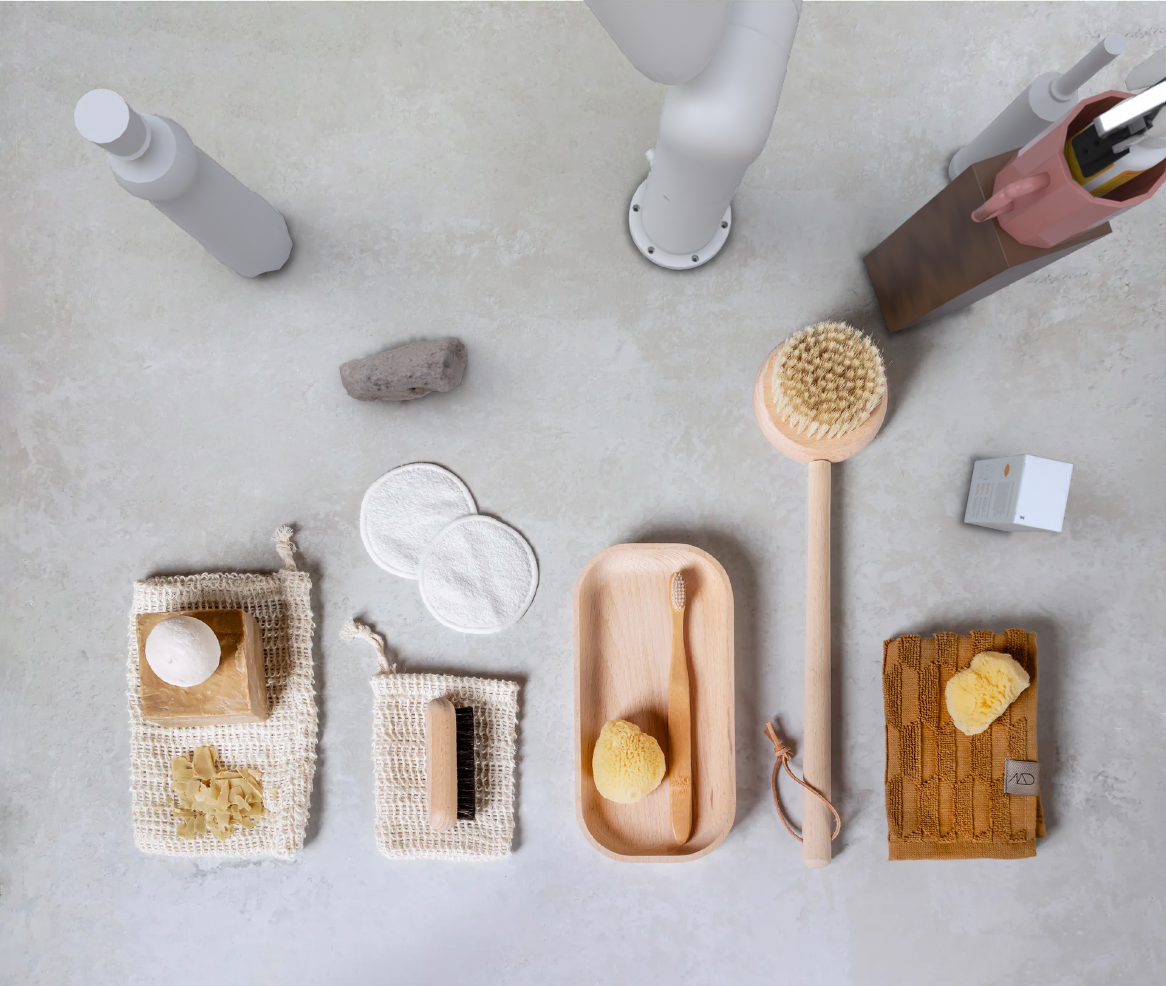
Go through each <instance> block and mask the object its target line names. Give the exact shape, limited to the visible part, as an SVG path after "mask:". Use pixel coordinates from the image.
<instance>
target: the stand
mask: <svg viewBox="0 0 1166 986" xmlns="http://www.w3.org/2000/svg"><path fill="white" fill-rule="evenodd" d="M1023 147H1024V146H1022V147H1019V148H1017V149H1014V150H1011V151H1008V152H1005V153H1002V154H999V155H996V156H993V157H991V158H988V159H985V160H982V161H979V162H976V163H973V164H971V165H970V166H969V167H968V168H967V169H965V170H964V171H963V172H962V173H961V174H960V175H959V176H957V177H956V178H955V179H954V180H953V181H952V182H951V181H950V183H948V184H947V185H946V186H945V187H943V188H942V189H941V190H940V191H939V192H937V194H935V195H934V196H933V197H932V198H930V199H929V200H928V202H926V203H925V204H924V205H922V206H921V207H920V208H919V209H918V210H916V212H915V213H914V214H912V215H911V216H910V217H909V218H908V219H906V220H905V221H904V222H903V223H902V224H901V225H900V226H898V227H897V228H896V229H895V230H894V231H893V232H892V233H890V234H889V235H888V236H887V237H886V238H884V239H883V241H881V242H880V243H879V244H877V245H876V246H875V247H874V248H873V249H872V250H871V251H870V252H868V254H866V255H865V256H864V257H863V258H862V261H863V263H864V265H865V268H866V272H867V274H868V277H869V279H870V283H871V285H872V287H873V290H874V295H875V296H876V299H877V302H878V305H879V307H880V310H881V314H882V316H883V318H884V320H885V324H886V327H887V330H888V333H889V334H894V333H896V332H899V331H903V330H905V329H908V328H911V327H914V326H916V325H919V324H922V323H925V322H928V321H930V320H934V319H937V318H939V317H942V316H945V315H948V314H950V313H953V312H957V311H959V310H963V309H965V308H967V307H969V306H971V305H973V304H975V303H977V302H979V301H981V300H983V299H985V298H987V297H988V296H990V295H992V294H995V293H997V292H998V291H1000V290H1002V289H1004V288H1006V287H1008V286H1010V285H1012V284H1014V283H1016V282H1018V281H1020V280H1022V279H1024V278H1025V277H1027V276H1030V275H1032V274H1034V273H1035V272H1037V271H1039V270H1042V269H1044V268H1046V267H1047V266H1050V265H1051V264H1053V263H1055V262H1057V261H1059V260H1062V259H1063V258H1065V257H1067V256H1069V255H1071V254H1073V253H1074V252H1077V251H1079V250H1081V249H1083V248H1085V247H1087V246H1088V245H1091V244H1093V243H1094V242H1096V241H1098V240H1100V239H1102V238H1104V237H1106V236H1109V235H1110V234H1112V233H1113V229H1112V225H1111V223H1110V220H1109V221H1107V222H1105V223H1103V224H1102V225H1100V226H1098V227H1096V228H1094V229H1092V230H1090V231H1088V232H1087V233H1085V234H1083V235H1081V236H1079V237H1077V238H1075V239H1074V240H1072V241H1069V242H1066V243H1063V244H1060V245H1057V246H1054V247H1052V248H1049V249H1044V248H1039V247H1034V246H1029V245H1023V244H1020V243H1019V242H1018V241H1017V240H1015V239H1014V238H1013V237H1012V236H1011V235H1010V234H1008V233H1007V232H1006V231H1005V230H1004V229H1003V228H1001V226H1000V224H999V222H998V219H997V216H996V217H993V218H990V219H987V220H985V221H982V222H974V221H973V220H972V218H971V215H972V212H973V211H974V210H975V209H976V208H978V207H979V206H980V205H982V204H983V203H984V202H986V201H987V200H988V199H990V198H991V197H992V195H993V189H994V184H995V178H996V175H997V173H998V172H999V171H1000V170H1001V169H1002V168H1003V166H1004V165H1005V164H1006V163H1007V162H1008V161H1009V159H1010V158H1011V157H1012V156H1013V155H1014V154H1015V153H1017V152H1018V151H1019V150H1020V149H1022V148H1023Z"/></svg>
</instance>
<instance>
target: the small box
mask: <svg viewBox="0 0 1166 986" xmlns="http://www.w3.org/2000/svg"><path fill="white" fill-rule="evenodd" d="M1074 466H1075V465H1074V463H1072V462H1067V461H1062V460H1057V459H1053V458H1047V457H1043V456H1037V455H1033V454H1028V453H1023V454H1015V455H1014V454H1013V455H1007V456H1006V455H1005V456H999V457H993V458H992V457H991V458H984V459H978V460H975V461H974V465H973V470H972V471H973V472H972V475H971V480H970V486H969V492H968V497H967V502H966V508H965V513H964V520H963V523H964V524H969V525H970V524H971V525H974V526H980V527H984V528H990V529H995V530H999V531H1003V532H1004V531H1005V532H1018V533H1019V532H1020V533H1021V532H1022V533H1023V532H1024V533H1052V534H1053V533H1054V534H1057V533H1058V534H1059V533H1062V532H1063V527H1064V521H1065V515H1066V509H1067V505H1068V504H1067V503H1068V498H1069V492H1070V487H1071V481H1072V476H1073V471H1074Z"/></svg>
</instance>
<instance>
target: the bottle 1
mask: <svg viewBox="0 0 1166 986" xmlns="http://www.w3.org/2000/svg"><path fill="white" fill-rule="evenodd" d="M73 119H74V125H75V127H76V129H77V131H78V133H79V134H80V135H81V136H83V137H84V138H85V139H86V140H88V142H90V143H92V144H94V145H96V146H97V147H100V148H101V149H103V151H104V152H105V153H106V159H107V163H108V165H109V169H110V172H111V174H112V175H113V177H114V179H115V180H116V182H117V184H118V186H119V187H120V188H122V189H123V190H125V191H126V192H127V193H128V194H130V196H133V197H135V198H138V199H141V200H144V201H148V202H149V204H150V205H151V206H152V207H154V208H155V209H156V210H157V211H159V212H160V213H161V214H162V215H164V217H166V218H168V219H169V220H170V221H171V222H172V223H174V224H175V225H176V226H177V227H178V228H180V229H181V230H183V231H184V232H185V233H186V234H188V236H190V237H191V238H192V239H194V240H195V241H196V242H197V243H199V244H200V245H201V246H203V248H204V249H205V251H206V252H207V253H208V254H209V255H210V256H212V258H214V259H215V260H217V261H218V263H221V264H222V265H224V266H225V267H227V268H229V269H230V270H231V271H233V272H235V274H237V275H240V276H243V277H246V278H250V279H253V278H255V277H258V276H259V275H261V274H264V273H267V272H273V271H278V270H280V269H282V267H283V266H284V264H286V262H287V261H288V259H289V258H290V256H291V251H292V248H293V245H294V244H293V241H292V238H291V235H290V233H289V231H288V226H287V224H286V220H285V217H284V215H282V213H280V212H279V211H278V210H277V209H276V208H275V207H274V206H273V204H271V203H270V202H269V201H268V200H267V199H266V198H264V197H263V196H262V195H260V193H258V192H257V191H255V190H252V189H250V188H249V187H248V186H246V185H245V184H244V183H243V182H242V181H241V180H240V179H238V178H237V177H236V176H235V175H233V174H232V173H231V172H229V170H227V169H226V168H225V167H224V166H222V164H220V163H219V162H217V161H216V159H214V158H213V157H212V156H211V155H209V154H208V153H206V152H205V151H204V150H203V149H202V148H201V147H199V146H197V145H196V144H195V143H194V141H193V139H192V138H191V136H190V134H189V133H188V131H187V129H186V128H185V127H183V126H182V125H181V124H179V123H178V122H177V121H176V120H175V119H173V118H170V117H167V116H163V115H159V114H156V113H148V112H141V113H139V112H138V111H135V110H134V109H133V108H132V106H131V105H130V104H129V103H128V102H127V101H126V99H124V98H123V97H122V96H121V95H120V94H118V93H117V92H116V91H114V90H110V89H108V88H95V89H92V90H90V91H88V92H86V93H85V94H83V95H82V96H81V98H80V99H79V100H78V101H77V103H76V106H75V108H74V112H73Z"/></svg>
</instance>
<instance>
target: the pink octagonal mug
mask: <svg viewBox="0 0 1166 986" xmlns="http://www.w3.org/2000/svg"><path fill="white" fill-rule="evenodd" d="M1137 94H1138V93H1130V92H1126V91H1121V90H1115V89H1109V90H1106V91H1104V92H1101V93H1097V94H1094V95H1092V96H1089V97H1085V98H1082V99H1081V100H1080V101H1078V104H1076V105H1075V106H1074V107H1073V108H1071V109H1070V110H1069V111H1068V112H1066V113H1065V114H1064V115H1063V116H1061V117H1060V118H1059V119H1058V120H1056V121H1055V122H1054V123H1053V124H1051V125H1050V126H1049V127H1048V128H1046V129H1045V130H1044V131H1043V132H1041V133H1040V134H1039V135H1038V136H1037V137H1035V138H1034V139H1033V140H1032V141H1030V142H1029V143H1028V144H1027V145H1025V146H1024V147H1023V148H1022V149H1020V150H1019V151H1018V152H1017V153H1015V154H1014V155H1013V156H1012V157H1011V158H1010V159H1009V161H1008V162H1007V163H1006V164H1005V165H1004V166H1003V168H1002V169H1001V170H1000V171H999V172H998V173H997V175H996V178H995V184H994V189H993V195H992V197H991V198H990V199H988V200H987V201H986V202H984V203H983V204H982V205H980V206H979V207H978V208H976V209H975V210H974V211H973V212H972V215H971V218H972V220H973V221H974V222H982V221H985V220H987V219H990V218H993V217H996V216H997V219H998V222H999V224H1000V226H1001V228H1003V229H1004V230H1005V231H1006V232H1007V233H1008V234H1010V235H1011V236H1012V237H1013V238H1014V239H1015V240H1017V241H1018V242H1019V243H1020V244H1023V245H1029V246H1034V247H1039V248H1044V249H1049V248H1052V247H1054V246H1057V245H1060V244H1063V243H1066V242H1069V241H1072V240H1074V239H1075V238H1077V237H1079V236H1081V235H1083V234H1085V233H1087V232H1088V231H1090V230H1092V229H1094V228H1096V227H1098V226H1100V225H1102V224H1103V223H1105V222H1107V221H1109V222H1110V220H1112V219H1115V218H1116V217H1118V216H1121V215H1122V214H1124V213H1126V212H1128V211H1129V210H1131V209H1133V208H1135V207H1137V206H1139V205H1140V204H1143V203H1144V202H1147V201H1148V200H1150V199H1151V198H1152V197H1153V196H1154V195H1155V194H1156V193H1157V191H1158V190H1159V189H1160V188H1161V187H1162V186H1163V184H1164V183H1165V182H1166V157H1165V158H1164V159H1163V160H1162V161H1161V162H1159V163H1158V164H1156V165H1155V166H1153V167H1151V168H1150V169H1148V170H1146V171H1144V172H1143V173H1141V174H1139V175H1137V176H1136V177H1134V178H1132V179H1131V180H1129V181H1127V182H1125V183H1124V184H1122V185H1120V186H1118V187H1117V188H1115V189H1113V190H1111V191H1110V192H1108V193H1106V194H1105V195H1103V196H1101V197H1100V198H1098V197H1094V196H1092V195H1091V194H1090V193H1089V192H1088V191H1087V190H1085V189H1084V188H1083V187H1082V186H1081V185H1079V184H1078V183H1077V182H1076V181H1075V180H1074V179H1073V178H1072V175H1071V173H1070V170H1069V167H1068V164H1067V162H1066V159H1065V156H1064V153H1063V151H1064V146H1065V142H1066V141H1067V140H1069V139H1070V138H1072V137H1073V136H1074V135H1076V134H1077V133H1078V132H1080V131H1081V130H1083V129H1084V128H1085V127H1087V126H1088V125H1089V124H1091V123H1092V122H1093V120H1094V119H1095V118H1096V117H1098V116H1100V115H1101V114H1103V113H1105V112H1107V111H1108V110H1110V109H1111V108H1112V107H1114V106H1115V105H1117V104H1118V103H1120V102H1121V101H1123V100H1125V99H1127V98H1130V97H1133V96H1136V95H1137Z"/></svg>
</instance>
